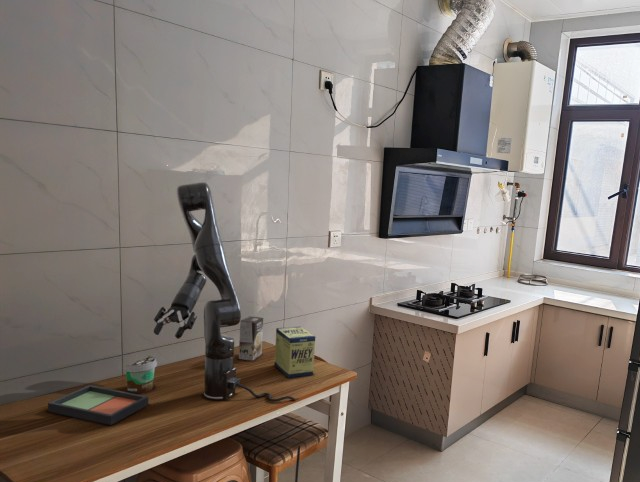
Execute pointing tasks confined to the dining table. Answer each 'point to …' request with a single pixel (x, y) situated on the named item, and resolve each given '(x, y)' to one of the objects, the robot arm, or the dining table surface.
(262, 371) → the dining table surface
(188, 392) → the dining table surface
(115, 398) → the sorting tray
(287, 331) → the protein box
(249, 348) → the coffee box
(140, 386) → the food container
